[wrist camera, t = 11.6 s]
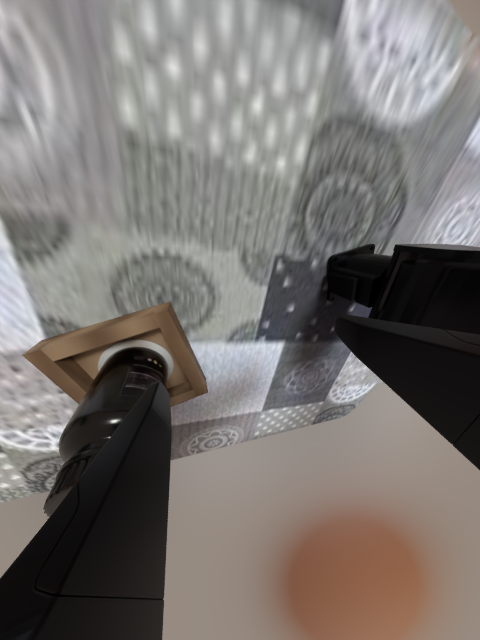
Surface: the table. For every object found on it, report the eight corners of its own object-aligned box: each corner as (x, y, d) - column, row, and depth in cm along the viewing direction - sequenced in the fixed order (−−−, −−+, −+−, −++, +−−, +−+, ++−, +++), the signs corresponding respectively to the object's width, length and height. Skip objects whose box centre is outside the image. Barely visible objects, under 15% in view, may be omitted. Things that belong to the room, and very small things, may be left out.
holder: (169, 301, 19) (167, 310, 17) (206, 379, 25) (207, 392, 23) (41, 340, 17) (22, 355, 15) (115, 413, 24) (109, 430, 22)
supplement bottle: (145, 395, 23) (112, 530, 12) (91, 373, 19) (-18, 534, 9) (181, 362, 22) (176, 478, 12) (131, 333, 18) (62, 461, 8)
